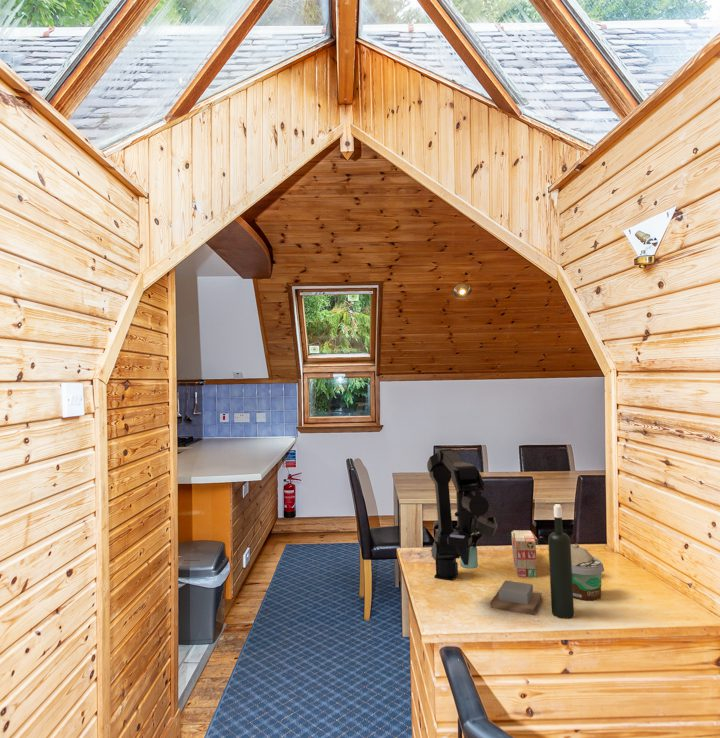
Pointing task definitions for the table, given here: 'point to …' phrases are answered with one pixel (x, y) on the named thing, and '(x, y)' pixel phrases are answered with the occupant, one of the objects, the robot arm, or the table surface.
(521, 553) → the stack of blocks
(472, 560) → the teal round block
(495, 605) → the tower base slab
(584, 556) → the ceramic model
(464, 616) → the table surface
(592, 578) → the food container
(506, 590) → the grey square block
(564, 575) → the wine bottle
